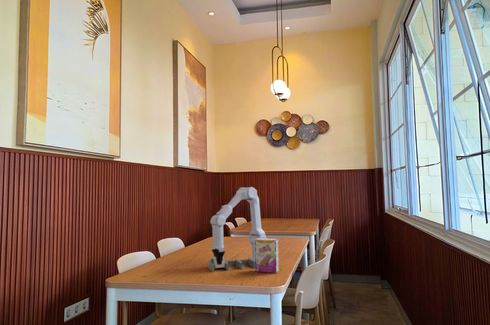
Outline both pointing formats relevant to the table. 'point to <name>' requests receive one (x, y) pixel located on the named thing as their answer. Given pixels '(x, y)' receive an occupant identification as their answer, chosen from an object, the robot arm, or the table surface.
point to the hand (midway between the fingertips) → (218, 263)
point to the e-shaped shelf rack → (233, 263)
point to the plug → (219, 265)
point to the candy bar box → (266, 255)
